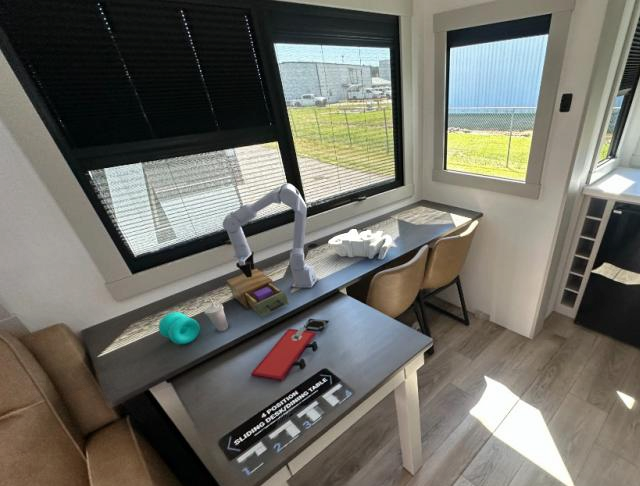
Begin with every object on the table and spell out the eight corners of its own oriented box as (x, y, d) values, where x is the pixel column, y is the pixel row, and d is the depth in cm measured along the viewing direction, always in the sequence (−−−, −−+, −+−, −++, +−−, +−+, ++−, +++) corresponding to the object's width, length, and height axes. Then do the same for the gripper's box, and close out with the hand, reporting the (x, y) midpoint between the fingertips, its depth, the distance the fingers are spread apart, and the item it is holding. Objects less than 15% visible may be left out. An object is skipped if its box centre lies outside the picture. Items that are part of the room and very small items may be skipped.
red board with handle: (334, 323, 120) (299, 319, 124) (332, 317, 118) (297, 313, 122) (293, 384, 96) (252, 376, 100) (290, 377, 95) (249, 370, 99)
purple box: (275, 301, 132) (272, 290, 129) (262, 307, 129) (258, 296, 126) (270, 297, 135) (267, 286, 132) (257, 303, 131) (253, 292, 128)
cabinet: (277, 295, 140) (272, 279, 135) (247, 309, 132) (240, 292, 127) (261, 283, 149) (256, 268, 145) (233, 295, 141) (226, 280, 137)
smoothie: (235, 324, 123) (222, 294, 116) (223, 334, 119) (208, 304, 111) (222, 321, 125) (208, 292, 117) (210, 332, 120) (194, 302, 113)
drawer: (294, 308, 129) (290, 295, 125) (265, 322, 122) (260, 309, 118) (272, 292, 140) (268, 280, 137) (245, 304, 133) (240, 292, 130)
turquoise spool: (179, 350, 112) (165, 329, 107) (165, 341, 117) (151, 320, 111) (205, 334, 119) (194, 313, 114) (191, 326, 124) (180, 306, 118)
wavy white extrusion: (398, 249, 171) (397, 231, 165) (388, 263, 158) (386, 244, 152) (342, 244, 182) (339, 227, 176) (327, 257, 169) (323, 238, 163)
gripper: (232, 239, 135) (243, 266, 143) (226, 252, 123) (238, 282, 131) (249, 236, 136) (259, 264, 144) (245, 249, 125) (256, 279, 132)
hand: (250, 272), depth 138 cm, fingers open, 7 cm apart
